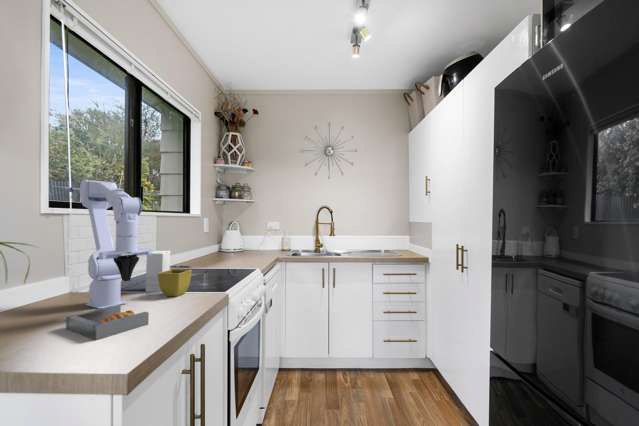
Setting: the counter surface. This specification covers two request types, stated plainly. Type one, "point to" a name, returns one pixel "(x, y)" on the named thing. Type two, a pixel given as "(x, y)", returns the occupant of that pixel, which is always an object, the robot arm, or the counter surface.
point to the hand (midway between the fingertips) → (126, 280)
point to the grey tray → (92, 329)
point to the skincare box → (156, 269)
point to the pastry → (117, 316)
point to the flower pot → (174, 282)
